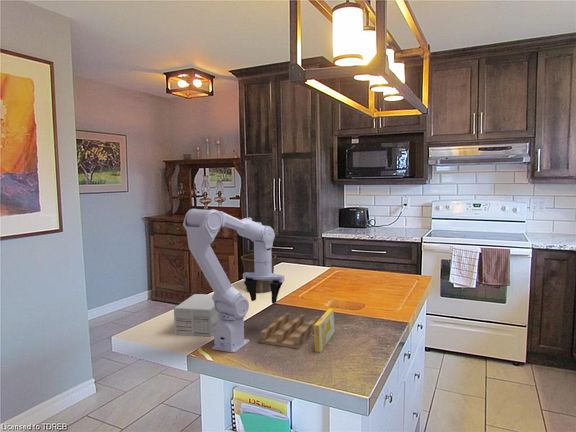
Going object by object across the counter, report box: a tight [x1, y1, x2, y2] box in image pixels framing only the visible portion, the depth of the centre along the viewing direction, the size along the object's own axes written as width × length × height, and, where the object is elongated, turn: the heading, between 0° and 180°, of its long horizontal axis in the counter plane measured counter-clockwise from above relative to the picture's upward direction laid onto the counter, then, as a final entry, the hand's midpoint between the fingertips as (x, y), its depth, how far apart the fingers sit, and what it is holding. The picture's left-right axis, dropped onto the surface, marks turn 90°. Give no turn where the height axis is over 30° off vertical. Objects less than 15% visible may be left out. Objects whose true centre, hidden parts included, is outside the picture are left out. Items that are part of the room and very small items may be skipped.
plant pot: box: [240, 253, 277, 294], centre depth 185 cm, size 16×16×16 cm
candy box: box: [313, 308, 336, 353], centre depth 124 cm, size 16×2×8 cm, turn 159°
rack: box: [260, 312, 321, 349], centre depth 131 cm, size 20×12×4 cm, turn 157°
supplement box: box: [173, 293, 220, 337], centre depth 139 cm, size 17×13×9 cm
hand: (263, 301), depth 134 cm, fingers open, 7 cm apart
